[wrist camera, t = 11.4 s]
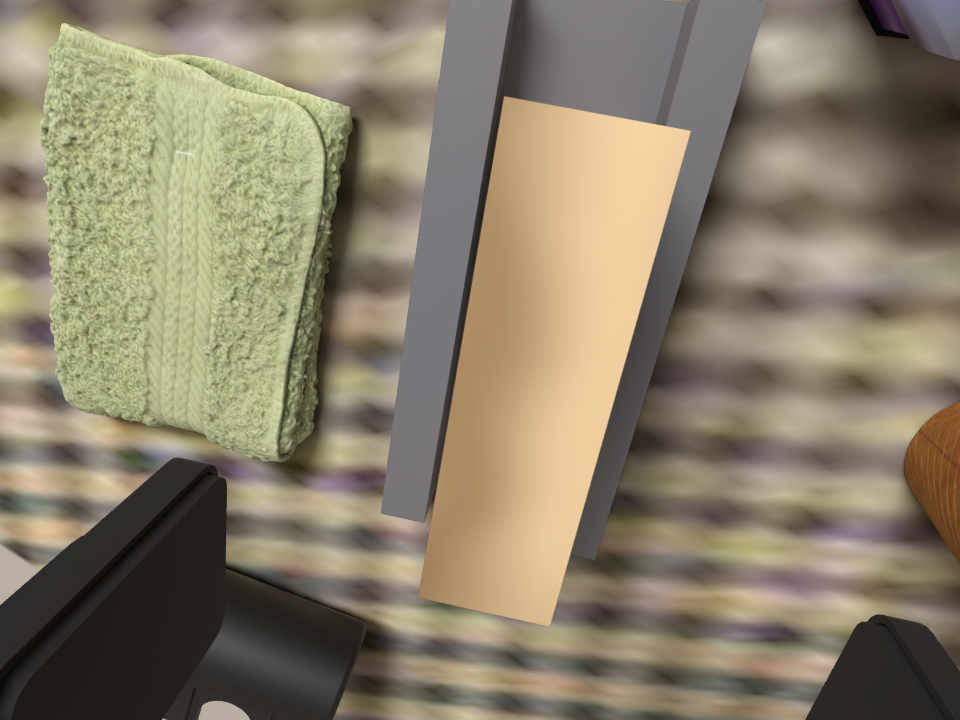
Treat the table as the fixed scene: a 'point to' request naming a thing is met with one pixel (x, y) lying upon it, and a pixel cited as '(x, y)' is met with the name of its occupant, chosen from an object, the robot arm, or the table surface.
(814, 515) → the table surface
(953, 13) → the potion bottle
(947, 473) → the disposable coffee cup
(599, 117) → the wooden picture frame
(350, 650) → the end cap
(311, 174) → the washcloth
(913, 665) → the robot arm
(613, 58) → the picture stand
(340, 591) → the table surface
